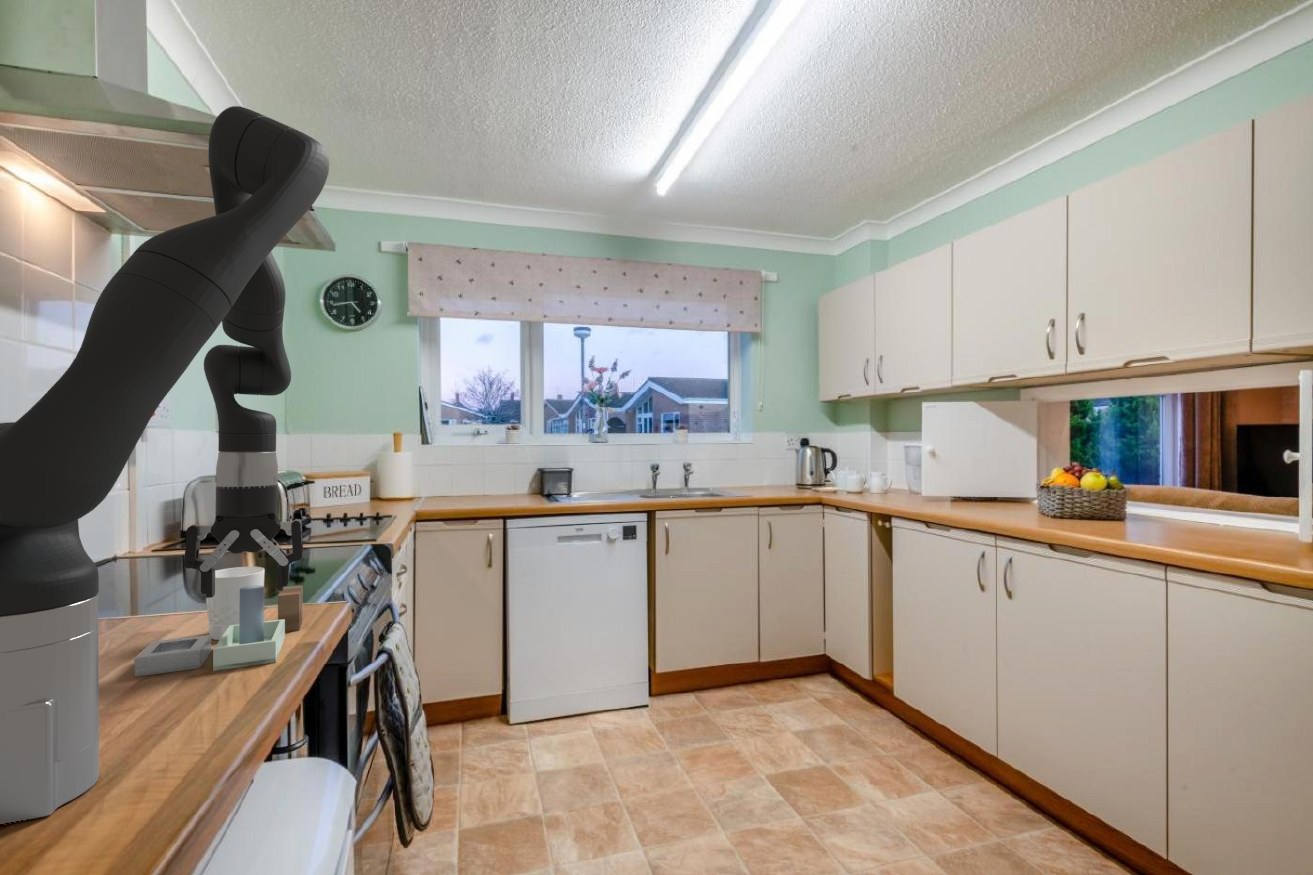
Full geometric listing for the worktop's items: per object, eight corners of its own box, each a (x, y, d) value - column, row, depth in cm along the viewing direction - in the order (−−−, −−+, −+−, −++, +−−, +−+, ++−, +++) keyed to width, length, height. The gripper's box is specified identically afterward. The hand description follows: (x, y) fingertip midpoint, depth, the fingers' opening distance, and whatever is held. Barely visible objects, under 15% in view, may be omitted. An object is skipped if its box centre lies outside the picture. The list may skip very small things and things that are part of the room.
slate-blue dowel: (262, 650, 87) (262, 589, 87) (237, 654, 86) (237, 591, 86) (265, 644, 90) (265, 584, 90) (241, 647, 89) (241, 586, 89)
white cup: (226, 644, 92) (225, 579, 92) (193, 638, 95) (193, 574, 95) (275, 629, 99) (275, 568, 99) (244, 623, 102) (244, 564, 102)
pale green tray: (275, 662, 85) (275, 641, 85) (213, 671, 81) (213, 649, 81) (284, 638, 95) (284, 619, 95) (229, 645, 91) (229, 625, 91)
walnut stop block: (299, 630, 98) (299, 593, 98) (277, 632, 97) (277, 595, 97) (302, 620, 104) (302, 585, 104) (282, 622, 102) (282, 587, 102)
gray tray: (199, 668, 82) (199, 649, 82) (134, 677, 79) (134, 658, 79) (211, 651, 89) (211, 634, 89) (151, 659, 86) (151, 641, 86)
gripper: (305, 480, 94) (304, 582, 94) (193, 482, 88) (191, 592, 88) (302, 483, 88) (300, 594, 88) (180, 485, 81) (178, 605, 81)
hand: (246, 593), depth 88 cm, fingers open, 8 cm apart
